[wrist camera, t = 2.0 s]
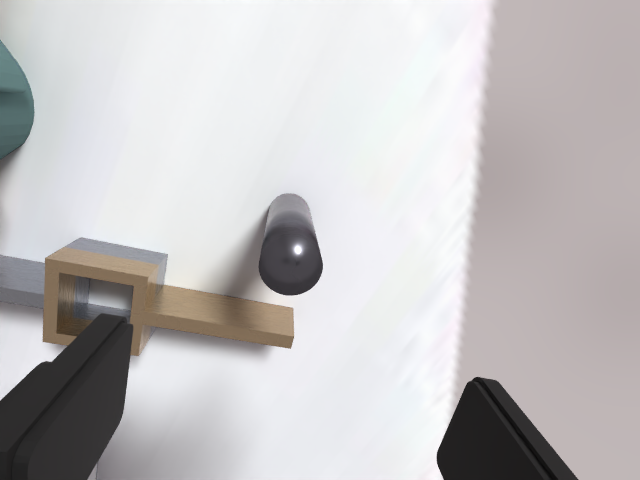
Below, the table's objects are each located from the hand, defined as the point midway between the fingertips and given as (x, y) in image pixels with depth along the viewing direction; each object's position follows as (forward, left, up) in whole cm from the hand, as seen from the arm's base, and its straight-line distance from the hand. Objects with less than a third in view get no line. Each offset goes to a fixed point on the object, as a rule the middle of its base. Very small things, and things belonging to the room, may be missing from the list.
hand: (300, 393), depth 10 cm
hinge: (+8, -11, -18) cm, 22 cm away
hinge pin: (0, 0, -18) cm, 18 cm away
